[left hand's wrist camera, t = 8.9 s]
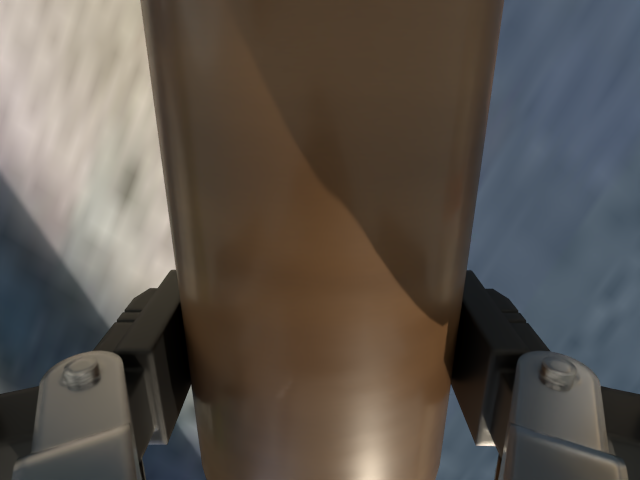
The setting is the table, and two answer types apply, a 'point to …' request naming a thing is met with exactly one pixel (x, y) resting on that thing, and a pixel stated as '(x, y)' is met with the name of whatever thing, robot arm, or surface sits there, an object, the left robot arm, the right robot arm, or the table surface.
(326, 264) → the rod
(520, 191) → the table surface
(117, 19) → the table surface
